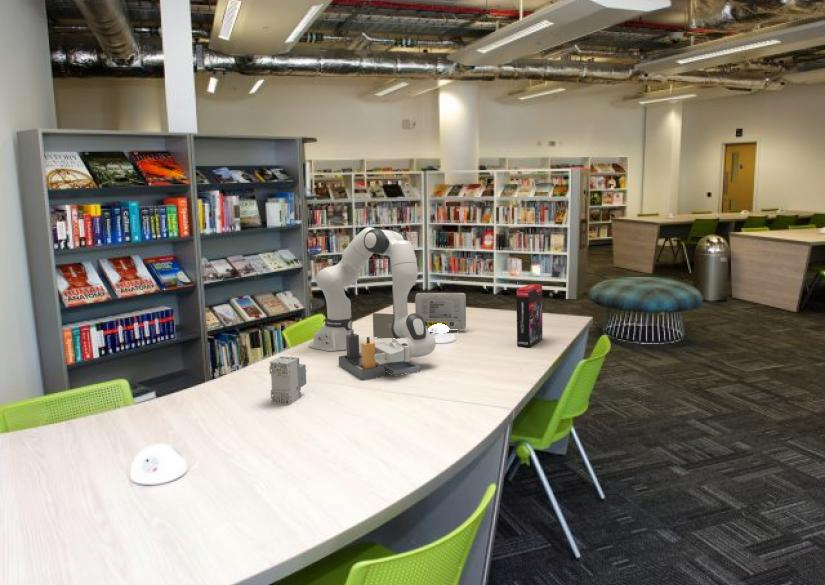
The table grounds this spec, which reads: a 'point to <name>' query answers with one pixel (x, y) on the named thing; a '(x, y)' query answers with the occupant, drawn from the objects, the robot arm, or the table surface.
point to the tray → (400, 367)
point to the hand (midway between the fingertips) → (368, 354)
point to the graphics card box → (529, 315)
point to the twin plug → (352, 345)
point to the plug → (368, 354)
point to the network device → (442, 309)
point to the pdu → (357, 370)
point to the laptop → (382, 325)
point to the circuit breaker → (286, 379)
